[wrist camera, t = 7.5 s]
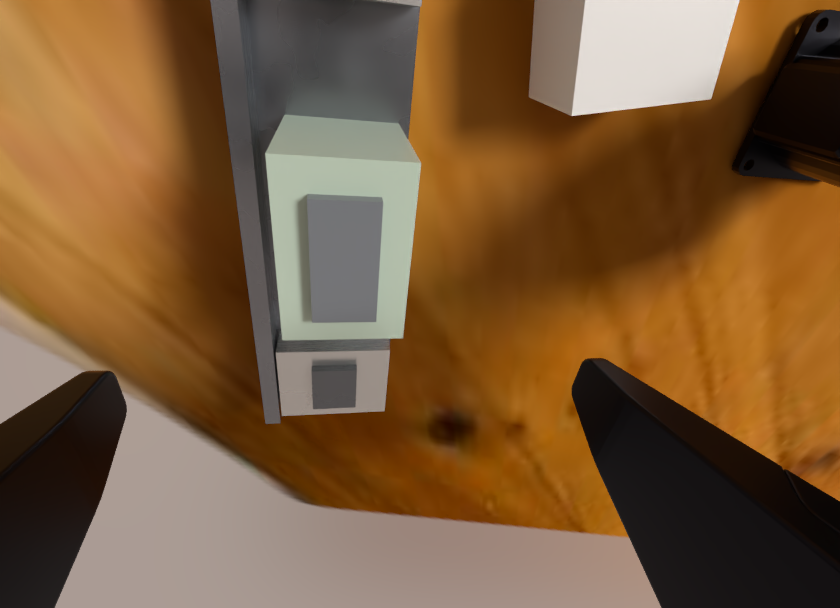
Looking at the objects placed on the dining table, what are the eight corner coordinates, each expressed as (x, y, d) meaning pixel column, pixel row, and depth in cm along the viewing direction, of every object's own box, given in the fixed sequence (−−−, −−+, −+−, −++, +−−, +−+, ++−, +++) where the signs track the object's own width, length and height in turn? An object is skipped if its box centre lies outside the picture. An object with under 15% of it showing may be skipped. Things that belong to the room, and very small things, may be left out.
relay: (673, -76, 15) (768, -100, 12) (642, 83, 18) (711, 99, 15) (537, -64, 15) (595, -87, 11) (527, 96, 17) (571, 115, 14)
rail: (428, -178, 13) (454, -232, 10) (382, 377, 25) (388, 423, 22) (207, -227, 11) (165, -305, 9) (273, 380, 23) (264, 430, 21)
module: (398, 123, 16) (423, 167, 11) (388, 267, 19) (404, 345, 14) (284, 114, 15) (262, 158, 10) (294, 266, 18) (280, 348, 14)
